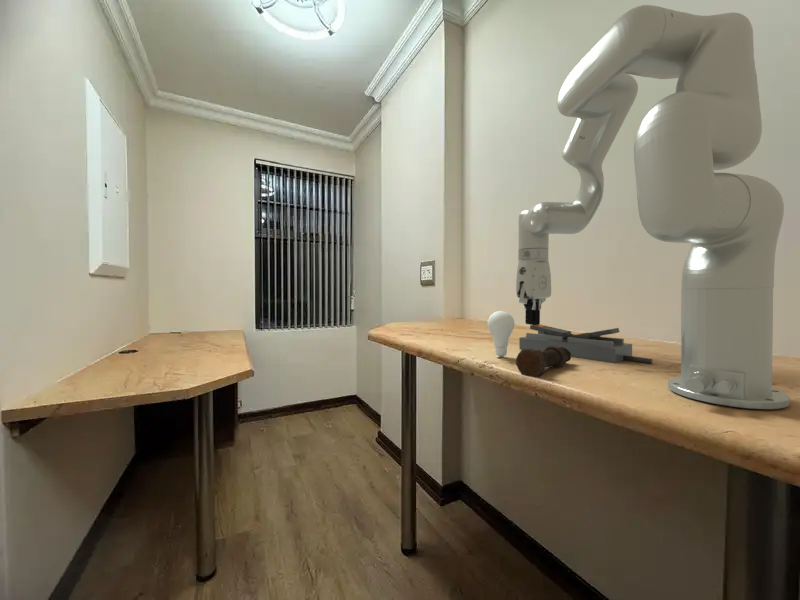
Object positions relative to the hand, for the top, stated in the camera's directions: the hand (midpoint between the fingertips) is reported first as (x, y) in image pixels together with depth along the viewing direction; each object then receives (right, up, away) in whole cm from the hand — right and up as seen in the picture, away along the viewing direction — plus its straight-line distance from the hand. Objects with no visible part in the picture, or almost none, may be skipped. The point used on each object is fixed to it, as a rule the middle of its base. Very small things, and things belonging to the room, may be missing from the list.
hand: (532, 324), depth 91 cm
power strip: (+8, -6, -10) cm, 14 cm away
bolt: (-6, -8, -24) cm, 26 cm away
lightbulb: (-12, -7, -12) cm, 19 cm away
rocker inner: (+9, -2, -13) cm, 16 cm away
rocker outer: (+3, -2, -4) cm, 5 cm away
